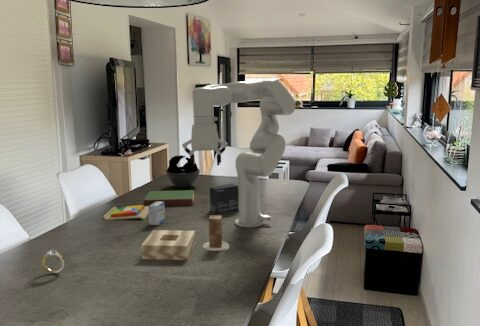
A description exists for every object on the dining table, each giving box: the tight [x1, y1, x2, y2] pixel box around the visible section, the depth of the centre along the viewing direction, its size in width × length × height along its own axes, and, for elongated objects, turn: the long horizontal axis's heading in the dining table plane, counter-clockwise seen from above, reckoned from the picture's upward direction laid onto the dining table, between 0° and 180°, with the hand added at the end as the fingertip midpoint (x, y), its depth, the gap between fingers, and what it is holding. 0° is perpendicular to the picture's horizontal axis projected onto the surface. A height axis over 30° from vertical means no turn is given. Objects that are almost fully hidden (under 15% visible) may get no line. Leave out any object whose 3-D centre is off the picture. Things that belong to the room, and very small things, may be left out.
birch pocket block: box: [140, 229, 197, 261], centre depth 161 cm, size 16×16×6 cm
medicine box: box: [148, 202, 166, 226], centre depth 197 cm, size 8×4×9 cm, turn 168°
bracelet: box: [41, 249, 66, 274], centre depth 145 cm, size 7×3×8 cm, turn 86°
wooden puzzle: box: [103, 204, 149, 221], centre depth 211 cm, size 18×19×4 cm
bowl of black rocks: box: [165, 154, 201, 188], centre depth 264 cm, size 20×20×19 cm
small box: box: [209, 182, 239, 215], centre depth 216 cm, size 13×7×12 cm, turn 123°
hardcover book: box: [143, 189, 195, 207], centre depth 234 cm, size 25×19×4 cm
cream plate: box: [202, 240, 230, 252], centre depth 166 cm, size 10×10×1 cm
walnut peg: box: [208, 215, 223, 248], centre depth 165 cm, size 4×4×11 cm
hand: (205, 164), depth 172 cm, fingers open, 9 cm apart
